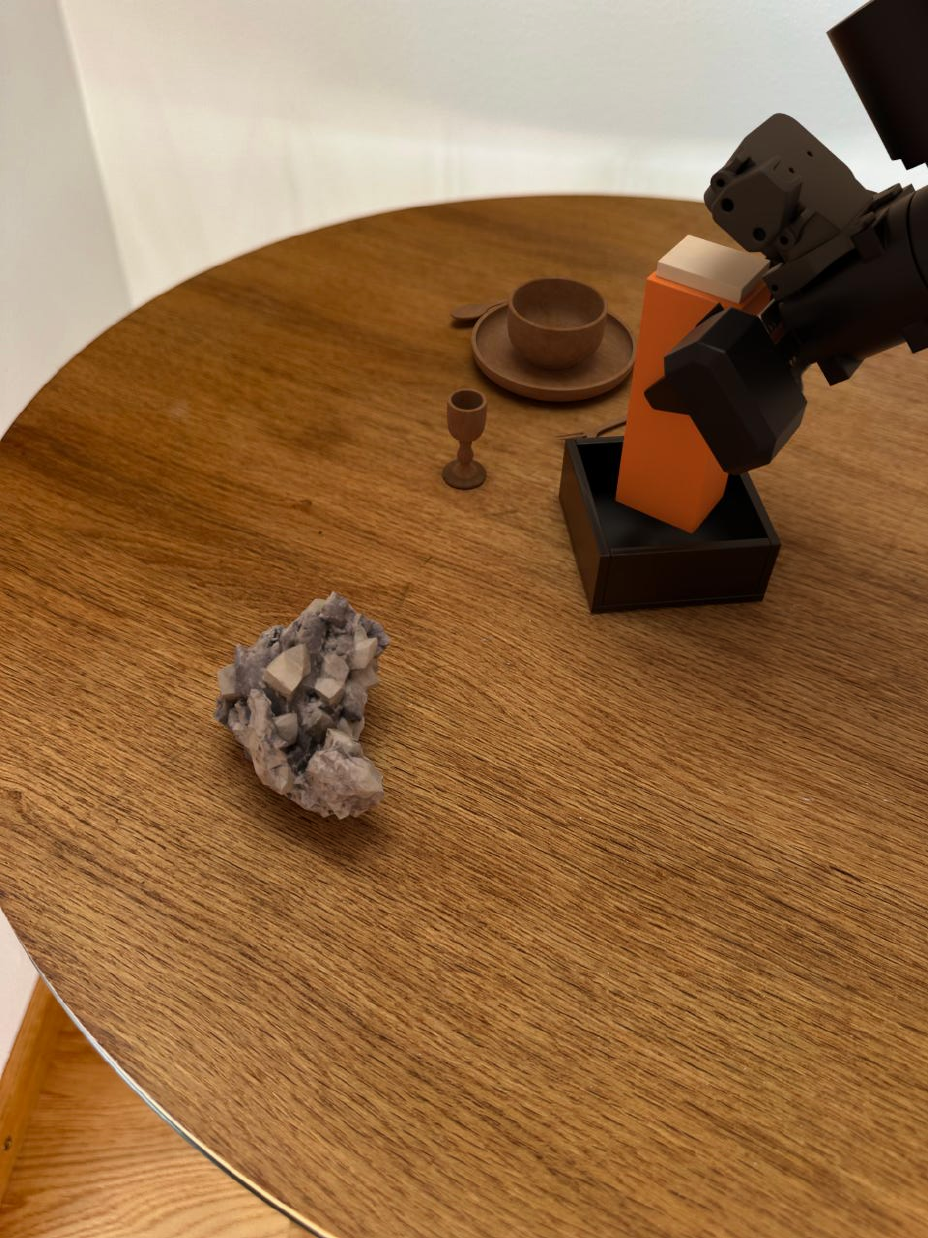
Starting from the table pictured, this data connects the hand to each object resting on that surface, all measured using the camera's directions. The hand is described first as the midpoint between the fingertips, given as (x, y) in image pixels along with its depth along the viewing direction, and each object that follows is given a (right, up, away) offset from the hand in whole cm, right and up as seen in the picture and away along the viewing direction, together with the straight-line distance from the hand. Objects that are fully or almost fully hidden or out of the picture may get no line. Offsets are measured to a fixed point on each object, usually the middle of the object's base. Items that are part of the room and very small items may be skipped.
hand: (668, 380), depth 57 cm
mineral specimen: (-19, -19, -2) cm, 27 cm away
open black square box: (+1, -8, +8) cm, 12 cm away
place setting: (-8, +4, +19) cm, 21 cm away
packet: (+1, -6, +5) cm, 8 cm away
